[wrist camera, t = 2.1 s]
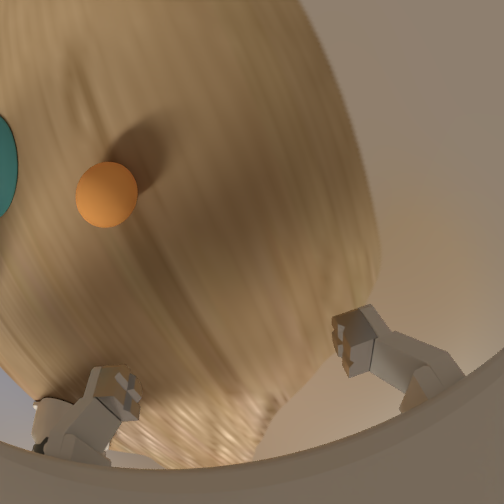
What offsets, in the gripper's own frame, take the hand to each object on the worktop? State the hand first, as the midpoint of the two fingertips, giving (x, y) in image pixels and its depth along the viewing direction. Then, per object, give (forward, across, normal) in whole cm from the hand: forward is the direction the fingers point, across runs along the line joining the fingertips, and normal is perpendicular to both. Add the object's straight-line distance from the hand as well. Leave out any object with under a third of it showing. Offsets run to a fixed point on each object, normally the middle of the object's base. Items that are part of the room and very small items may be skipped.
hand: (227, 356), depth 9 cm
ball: (+15, +8, -4) cm, 18 cm away
